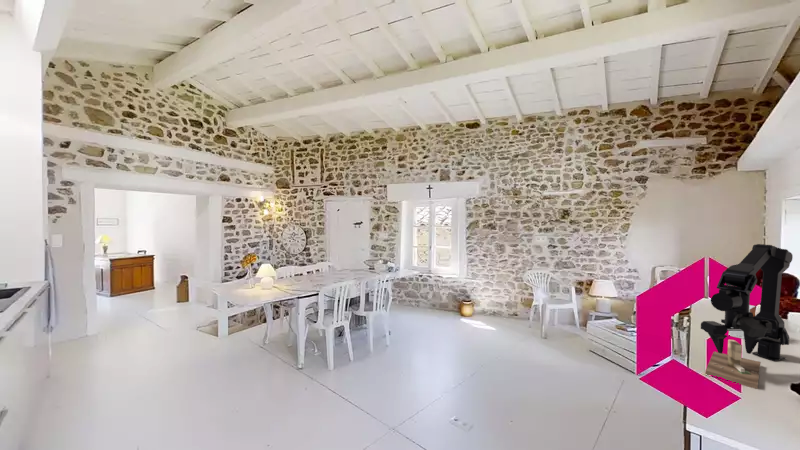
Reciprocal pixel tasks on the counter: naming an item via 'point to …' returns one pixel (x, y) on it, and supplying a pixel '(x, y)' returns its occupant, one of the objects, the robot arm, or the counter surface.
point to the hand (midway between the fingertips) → (734, 353)
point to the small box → (740, 333)
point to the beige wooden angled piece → (735, 355)
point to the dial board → (734, 370)
